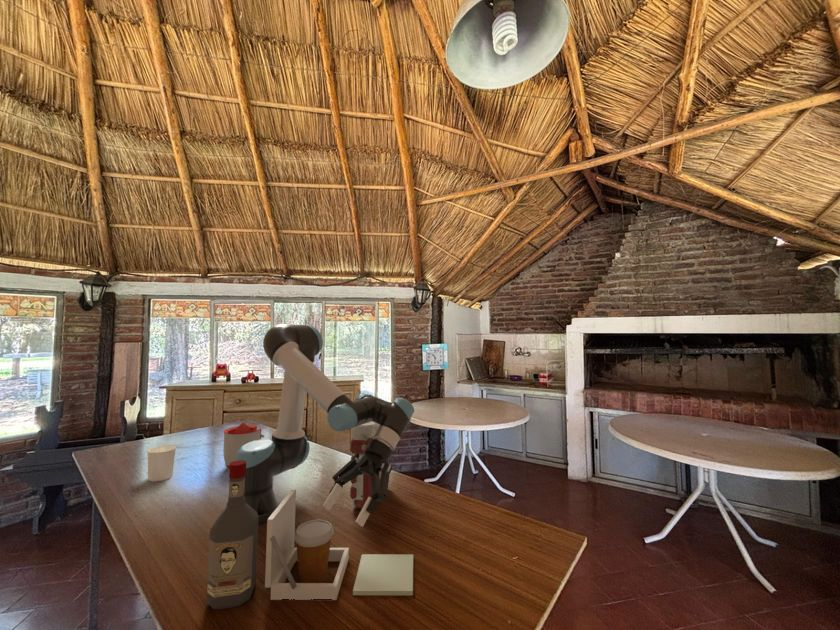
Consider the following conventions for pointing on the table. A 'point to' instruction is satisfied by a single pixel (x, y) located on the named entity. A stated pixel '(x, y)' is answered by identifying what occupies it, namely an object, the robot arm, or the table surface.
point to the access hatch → (294, 558)
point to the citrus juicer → (238, 440)
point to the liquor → (233, 547)
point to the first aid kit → (358, 445)
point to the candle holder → (161, 462)
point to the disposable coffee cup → (313, 550)
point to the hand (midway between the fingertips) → (341, 516)
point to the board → (384, 575)
